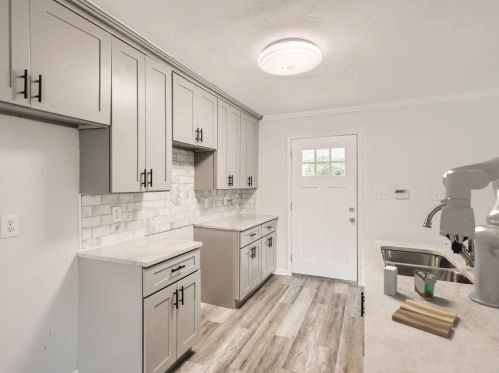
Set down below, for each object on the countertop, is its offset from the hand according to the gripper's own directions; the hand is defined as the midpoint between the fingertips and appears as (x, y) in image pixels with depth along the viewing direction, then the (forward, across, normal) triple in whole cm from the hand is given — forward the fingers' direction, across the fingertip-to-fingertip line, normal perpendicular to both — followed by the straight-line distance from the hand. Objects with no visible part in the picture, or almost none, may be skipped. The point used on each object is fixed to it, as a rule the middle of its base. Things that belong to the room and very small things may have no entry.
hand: (456, 253), depth 101 cm
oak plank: (+22, -7, -9) cm, 25 cm away
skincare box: (+23, -23, +2) cm, 33 cm away
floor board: (+23, -7, -13) cm, 27 cm away
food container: (+23, -11, +10) cm, 28 cm away
